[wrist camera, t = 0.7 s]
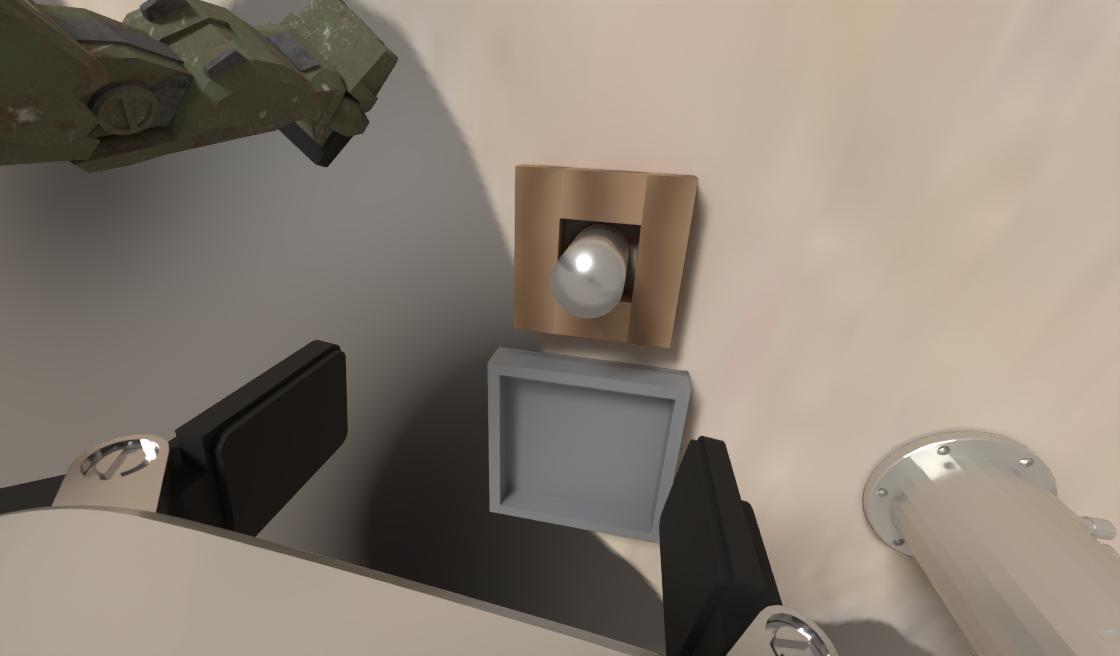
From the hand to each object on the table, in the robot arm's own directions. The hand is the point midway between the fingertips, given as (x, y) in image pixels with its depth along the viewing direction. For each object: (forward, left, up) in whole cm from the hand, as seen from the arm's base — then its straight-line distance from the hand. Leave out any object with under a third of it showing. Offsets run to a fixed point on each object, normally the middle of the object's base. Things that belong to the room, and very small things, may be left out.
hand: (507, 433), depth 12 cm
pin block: (0, +1, -24) cm, 24 cm away
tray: (0, +18, -24) cm, 30 cm away
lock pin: (0, +1, -24) cm, 24 cm away
